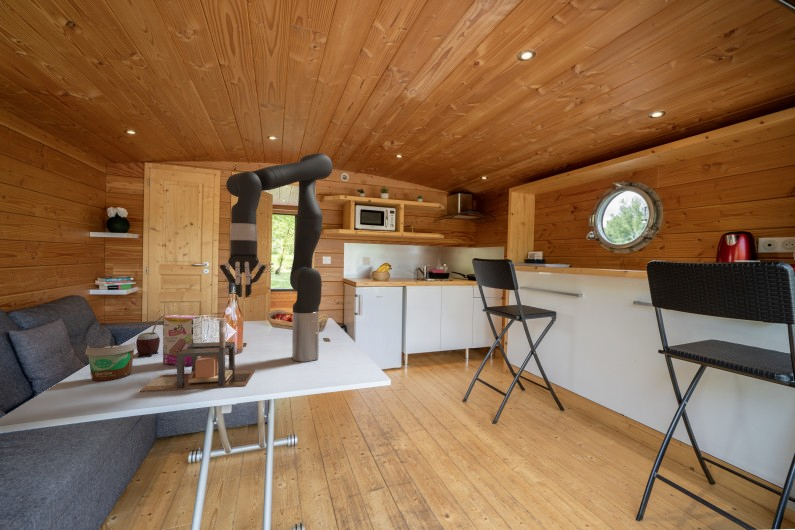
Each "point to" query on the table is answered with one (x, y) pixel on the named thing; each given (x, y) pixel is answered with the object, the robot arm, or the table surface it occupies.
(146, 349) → the mate gourd
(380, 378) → the table surface
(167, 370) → the table surface
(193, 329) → the candy bar box
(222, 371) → the tunnel
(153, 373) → the table surface
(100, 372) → the food container
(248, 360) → the table surface
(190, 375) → the sled
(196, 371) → the block
